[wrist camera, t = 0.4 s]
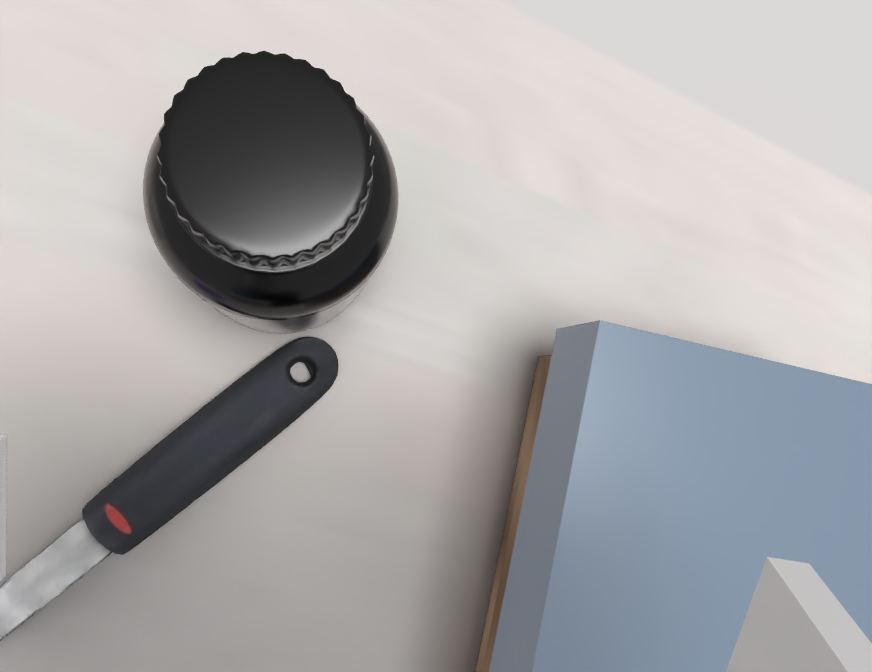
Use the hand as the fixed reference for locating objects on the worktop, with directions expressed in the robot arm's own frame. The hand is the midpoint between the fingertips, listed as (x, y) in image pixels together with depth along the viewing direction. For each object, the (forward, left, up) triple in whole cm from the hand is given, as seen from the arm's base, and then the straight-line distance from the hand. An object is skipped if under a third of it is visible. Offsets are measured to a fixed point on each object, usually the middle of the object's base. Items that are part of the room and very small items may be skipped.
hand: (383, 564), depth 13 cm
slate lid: (-3, -11, -12) cm, 16 cm away
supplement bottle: (+7, +4, -16) cm, 18 cm away
